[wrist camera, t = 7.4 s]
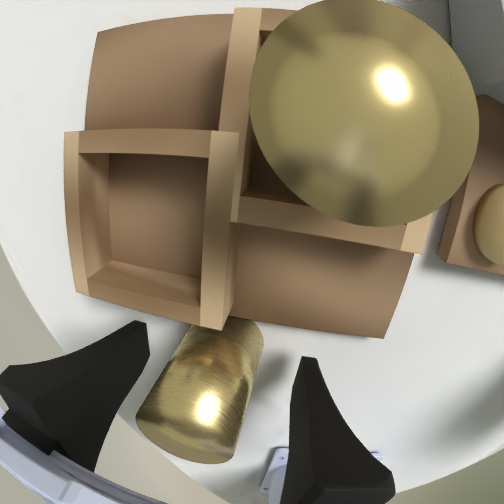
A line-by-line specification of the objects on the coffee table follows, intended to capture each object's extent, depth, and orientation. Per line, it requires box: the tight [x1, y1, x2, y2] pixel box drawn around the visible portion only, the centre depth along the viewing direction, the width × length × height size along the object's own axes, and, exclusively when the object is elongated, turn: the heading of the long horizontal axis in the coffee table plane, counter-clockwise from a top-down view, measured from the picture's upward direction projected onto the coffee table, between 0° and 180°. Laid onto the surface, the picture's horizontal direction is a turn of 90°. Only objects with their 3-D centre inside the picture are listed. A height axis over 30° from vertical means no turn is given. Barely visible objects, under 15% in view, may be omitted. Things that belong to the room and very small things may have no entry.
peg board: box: [64, 8, 434, 339], centre depth 9 cm, size 12×14×3 cm
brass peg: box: [136, 315, 264, 464], centre depth 11 cm, size 4×4×6 cm
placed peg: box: [249, 0, 479, 227], centre depth 6 cm, size 4×4×6 cm
